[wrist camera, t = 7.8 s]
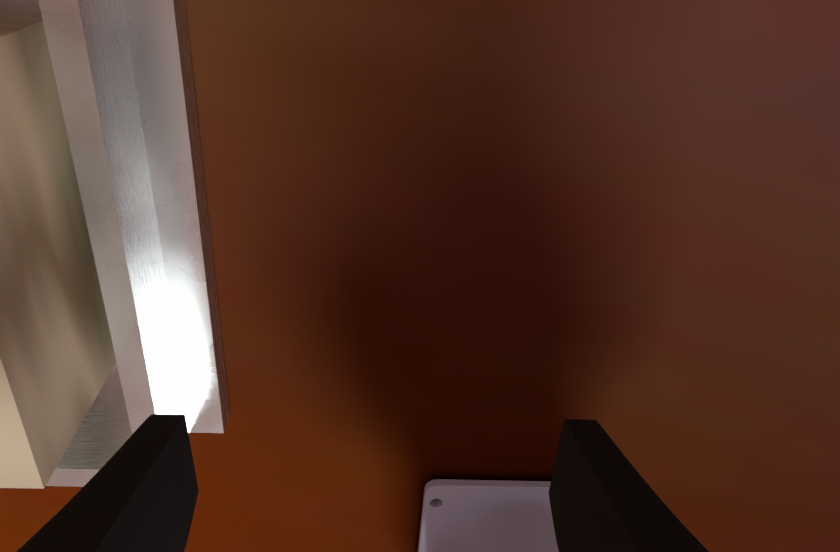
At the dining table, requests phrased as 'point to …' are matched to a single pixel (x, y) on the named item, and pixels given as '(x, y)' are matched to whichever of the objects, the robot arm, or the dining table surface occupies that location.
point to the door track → (139, 216)
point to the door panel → (42, 268)
